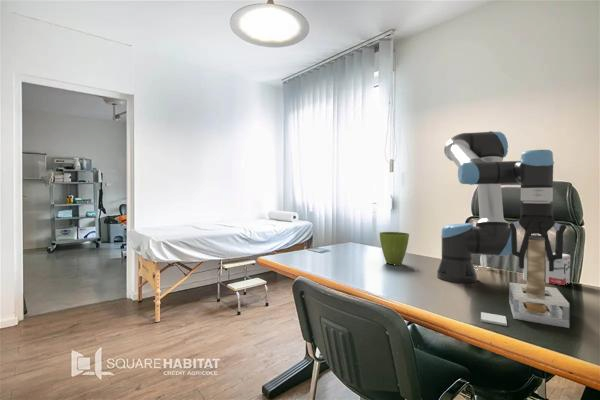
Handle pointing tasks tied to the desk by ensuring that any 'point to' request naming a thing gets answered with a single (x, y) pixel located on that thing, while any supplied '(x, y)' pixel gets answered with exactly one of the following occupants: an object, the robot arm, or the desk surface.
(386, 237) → the flower pot
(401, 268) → the desk surface
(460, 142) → the robot arm
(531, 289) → the tan wooden bar
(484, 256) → the figurine
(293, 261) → the desk surface
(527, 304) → the breaker button
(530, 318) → the grey slotted box
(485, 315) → the rest pad
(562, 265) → the ink box
